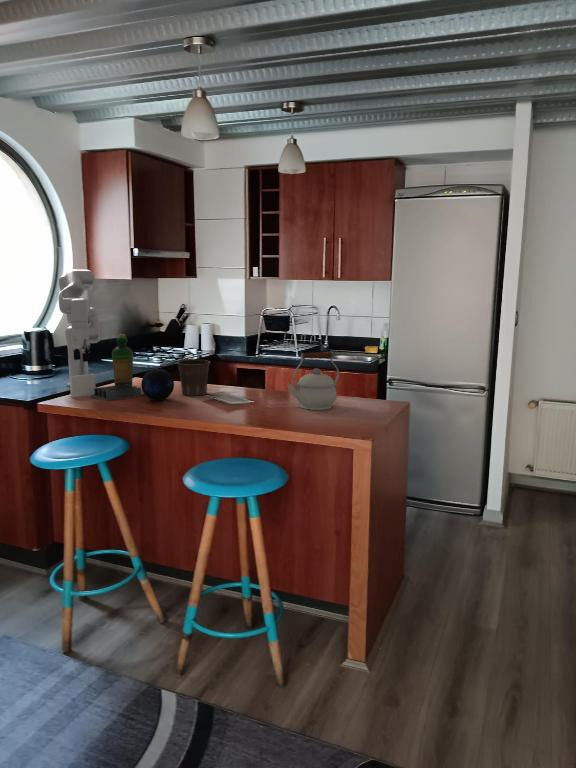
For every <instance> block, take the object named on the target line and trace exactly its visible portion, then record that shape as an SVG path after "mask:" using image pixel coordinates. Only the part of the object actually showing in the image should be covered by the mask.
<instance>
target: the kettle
mask: <svg viewBox="0 0 576 768" xmlns="http://www.w3.org/2000/svg"><path fill="white" fill-rule="evenodd" d="M300 358H301V359H300V362H299V364H298V365H297V367H296V368H295V369H294V372H293V375H292V376H293V380H294V383H295V387H293V385H292V384H286V386H287V388H288V390H289V392H290V393H291V394H292V396H293V397H294V398H295V399H296V401H298V403H299V404H300V408H302V409H303V408H304V410H308V409H310V410H309V411H326V410H330V409H331V408H332V407H333V404H334V403H335V401H336V399H337V396H338V395H337V389H336V388H337V386H338V384H337V383H338V380H339V376H340V370H339V368H338V366H337V365H336V364H335V362H334V361H333V352H331V351H329V352H321V351H320V352H309V353H305V352H301V353H300ZM325 358H329V359H330V362H331V363H332V365H333V366H334V367H335V369H336V371H337V372H336V376H335V379H333V378H332V377H331V376H329V375H327V374H325V373H321V372H322V371H321V370H320V368H318V367H316V368H314V369H313V370H312V373H306V374H304V375H303V376H302V377H300V379H299V380H298V381H297V380H296V373H297V372H298V369H300V366H302V364H303V362H304V360H305V359H310V360H311V359H325Z"/></svg>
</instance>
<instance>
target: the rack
mask: <svg viewBox="0 0 576 768" xmlns="http://www.w3.org/2000/svg"><path fill="white" fill-rule="evenodd" d="M142 395H143V396H146V395H145V394H144V393H143V391H142V387H141V386H139V387H138V386H136V385H134V386H133V384H132V385H128V384H123V385H115V384H114V385H109V386H102V387H96V388H94V394H91V395H89V396H90V398H94V399H96V400H99V399H100V401H102V400H103V402H107V400H108V401H113V399H115V400H119V399H120V398H122V399H127V397H129V398H134V396H136V397H142ZM120 400H121V399H120Z"/></svg>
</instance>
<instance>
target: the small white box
mask: <svg viewBox="0 0 576 768" xmlns="http://www.w3.org/2000/svg"><path fill="white" fill-rule="evenodd" d="M69 382H70V386H69V390H70V398H79V397H85V396H90V395H91V394H94V388H97V387H96V374H95V373H90V374H89V373H88V374H87V375H78V376H70V380H69Z"/></svg>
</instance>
